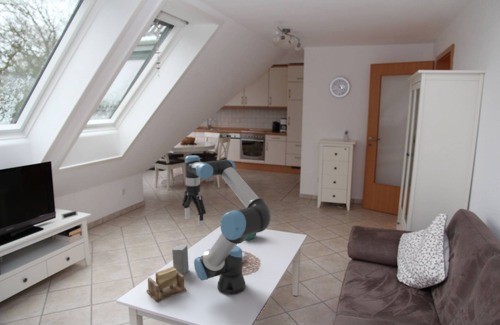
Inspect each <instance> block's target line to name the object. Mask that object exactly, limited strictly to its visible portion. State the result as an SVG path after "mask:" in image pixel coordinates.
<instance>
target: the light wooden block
mask: <svg viewBox="0 0 500 325" xmlns="http://www.w3.org/2000/svg"><path fill="white" fill-rule="evenodd" d="M155 282H156V283H157V284H158V285H159V290H161V289H163V288H166V287H169V286H171V285H174V284H176V283H177V271H176V269H175V268H174V267H173V266H171V267H168V268H165V269H162V270H159V271H156V272H155Z"/></svg>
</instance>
